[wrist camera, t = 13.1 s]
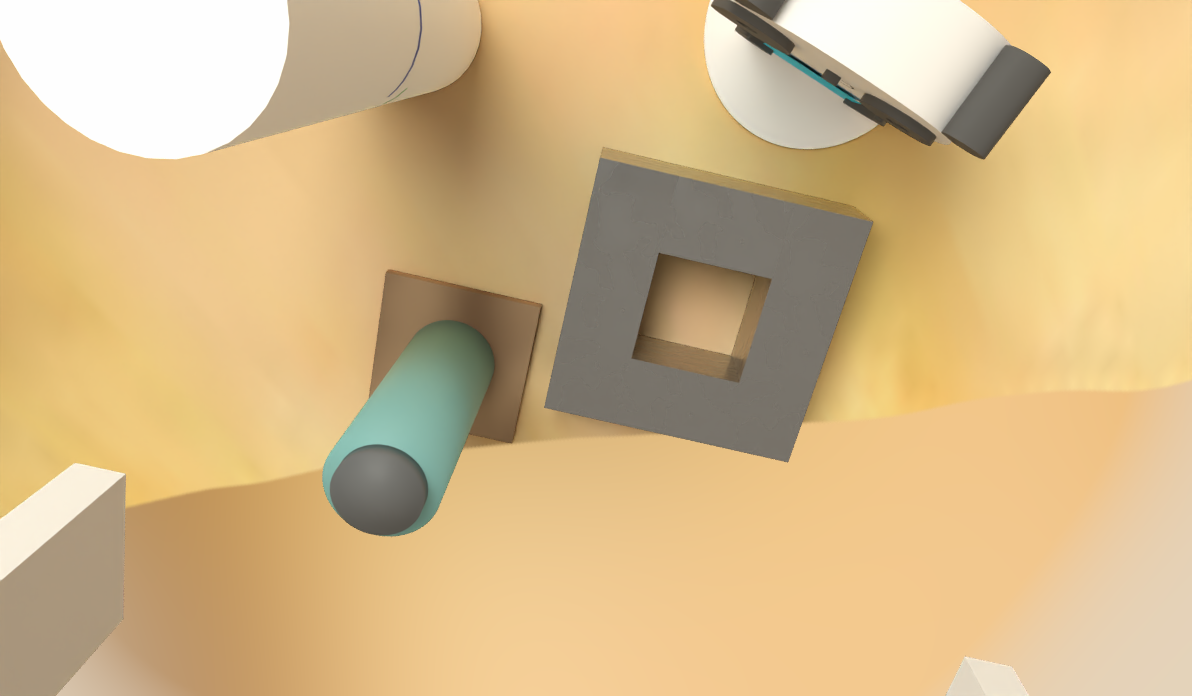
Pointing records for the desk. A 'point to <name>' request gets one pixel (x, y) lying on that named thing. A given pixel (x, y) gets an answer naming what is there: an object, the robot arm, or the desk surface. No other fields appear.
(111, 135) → the cylindrical container
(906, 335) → the desk surface
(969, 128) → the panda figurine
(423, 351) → the teal cylinder
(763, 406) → the housing
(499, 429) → the pad
